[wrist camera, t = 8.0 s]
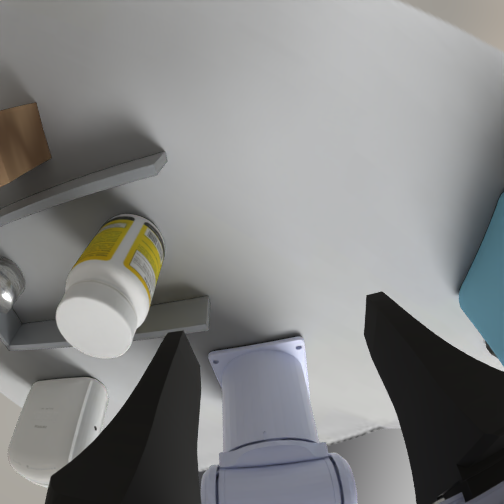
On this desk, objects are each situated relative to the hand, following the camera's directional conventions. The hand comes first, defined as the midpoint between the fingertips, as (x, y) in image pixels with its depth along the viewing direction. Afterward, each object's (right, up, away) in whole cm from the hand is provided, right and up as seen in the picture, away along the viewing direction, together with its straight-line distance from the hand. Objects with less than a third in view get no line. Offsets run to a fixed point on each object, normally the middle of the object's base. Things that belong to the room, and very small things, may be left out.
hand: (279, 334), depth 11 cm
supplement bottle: (-9, +3, +10) cm, 14 cm away
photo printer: (-21, -12, +17) cm, 29 cm away
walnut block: (-16, +10, +5) cm, 20 cm away
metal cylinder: (-21, +1, +10) cm, 24 cm away
